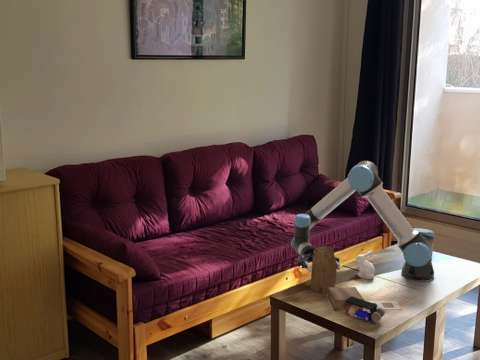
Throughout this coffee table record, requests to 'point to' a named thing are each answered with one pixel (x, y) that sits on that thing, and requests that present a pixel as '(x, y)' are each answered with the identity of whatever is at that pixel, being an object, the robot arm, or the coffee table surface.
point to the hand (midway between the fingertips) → (325, 268)
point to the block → (323, 269)
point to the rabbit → (365, 266)
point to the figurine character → (354, 311)
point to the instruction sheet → (386, 305)
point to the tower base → (342, 297)
